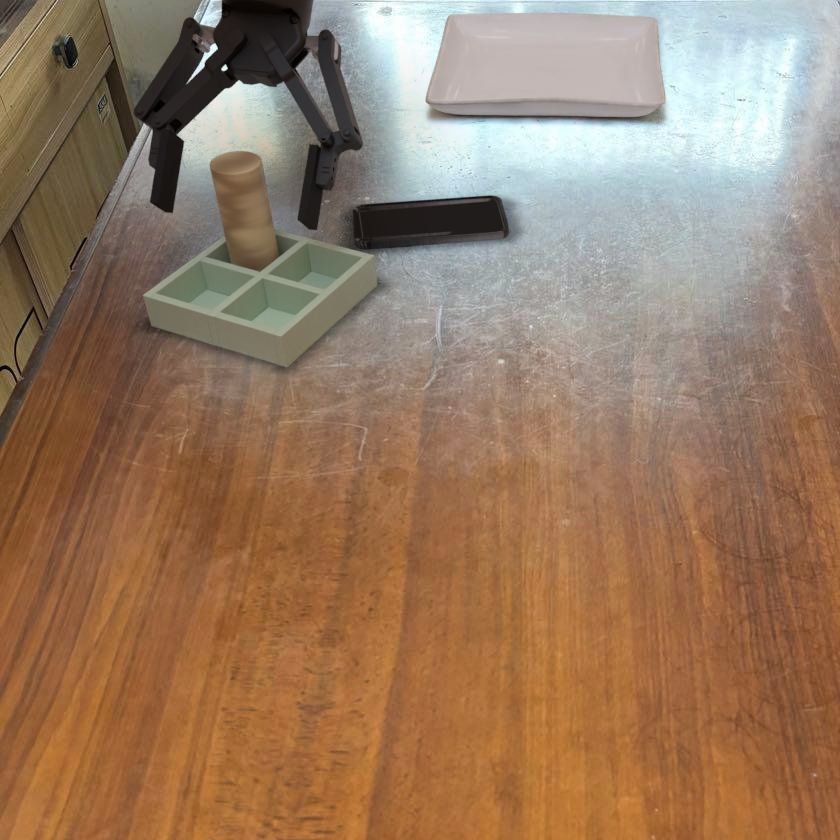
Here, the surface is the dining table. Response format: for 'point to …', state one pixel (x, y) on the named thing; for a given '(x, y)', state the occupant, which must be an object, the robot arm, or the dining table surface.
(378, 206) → the phone
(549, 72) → the square plate
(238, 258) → the tan wooden cylinder
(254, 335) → the grid
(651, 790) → the dining table surface
